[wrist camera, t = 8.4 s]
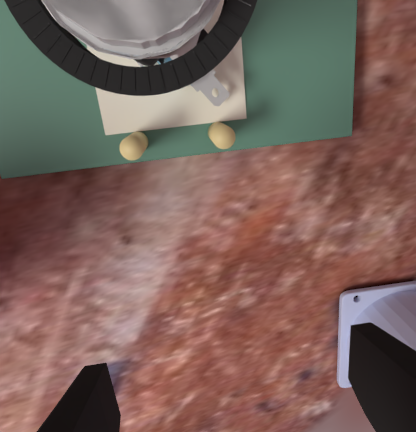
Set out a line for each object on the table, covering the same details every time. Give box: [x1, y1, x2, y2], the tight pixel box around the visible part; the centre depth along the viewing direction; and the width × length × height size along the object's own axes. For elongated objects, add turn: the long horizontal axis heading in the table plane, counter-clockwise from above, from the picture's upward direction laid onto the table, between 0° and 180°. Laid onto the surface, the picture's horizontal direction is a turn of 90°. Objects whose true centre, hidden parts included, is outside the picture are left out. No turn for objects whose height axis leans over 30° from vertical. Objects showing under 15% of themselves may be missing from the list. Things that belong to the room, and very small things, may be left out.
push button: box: [4, 0, 257, 106], centre depth 10 cm, size 7×5×10 cm
